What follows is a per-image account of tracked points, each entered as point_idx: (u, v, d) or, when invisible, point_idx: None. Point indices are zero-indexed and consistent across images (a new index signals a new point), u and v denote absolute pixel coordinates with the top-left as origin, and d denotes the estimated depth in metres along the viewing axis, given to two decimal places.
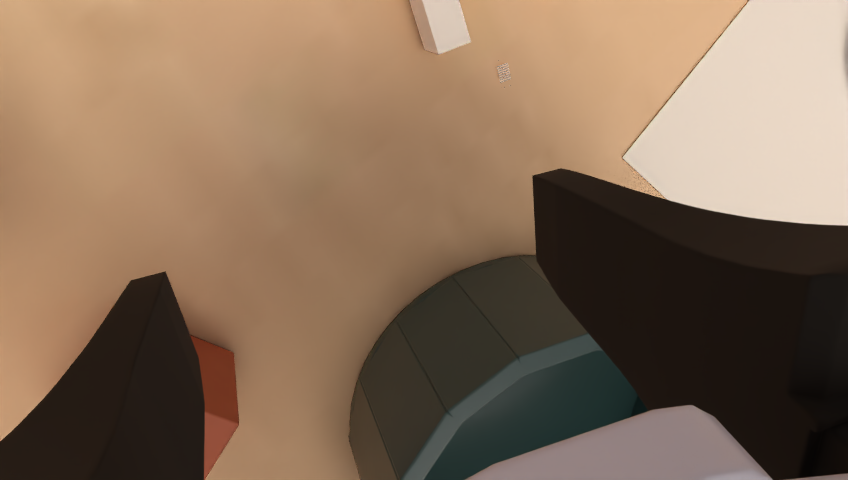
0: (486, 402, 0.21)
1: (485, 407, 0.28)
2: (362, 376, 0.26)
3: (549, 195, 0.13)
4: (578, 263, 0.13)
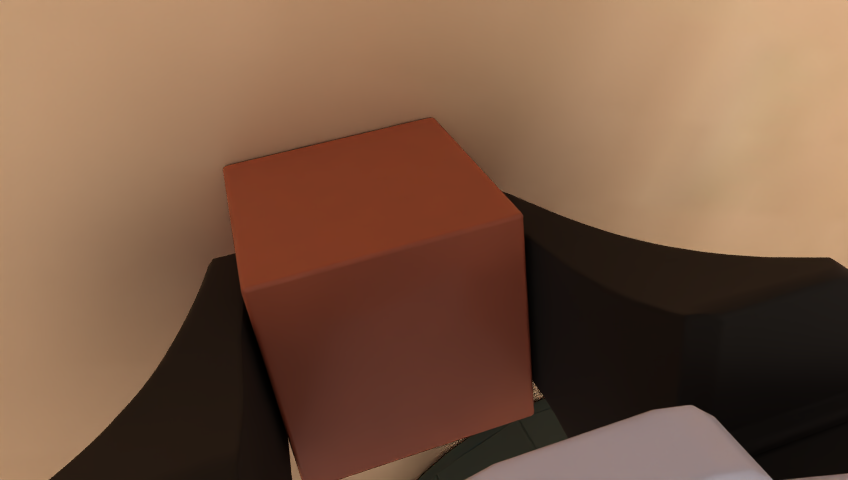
0: None
1: None
2: (527, 421, 0.18)
3: None
4: None
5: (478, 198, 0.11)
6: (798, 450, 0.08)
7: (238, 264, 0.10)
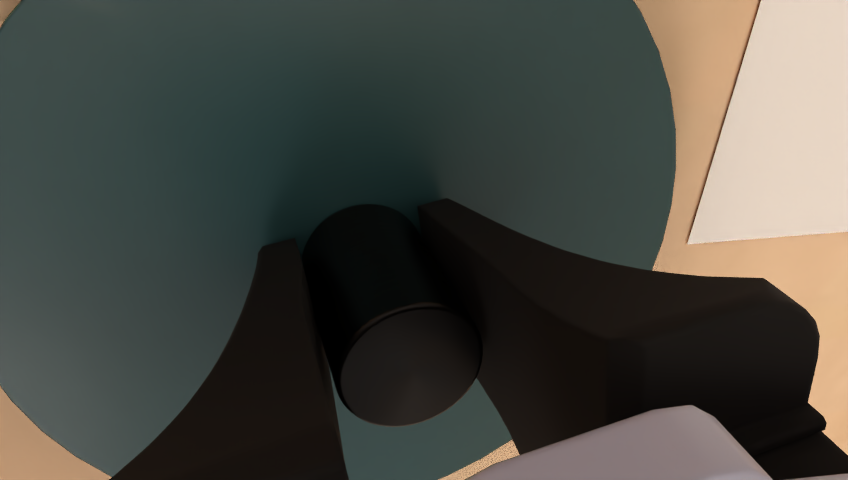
0: None
1: None
2: None
3: (429, 227, 0.13)
4: None
5: None
6: None
7: None
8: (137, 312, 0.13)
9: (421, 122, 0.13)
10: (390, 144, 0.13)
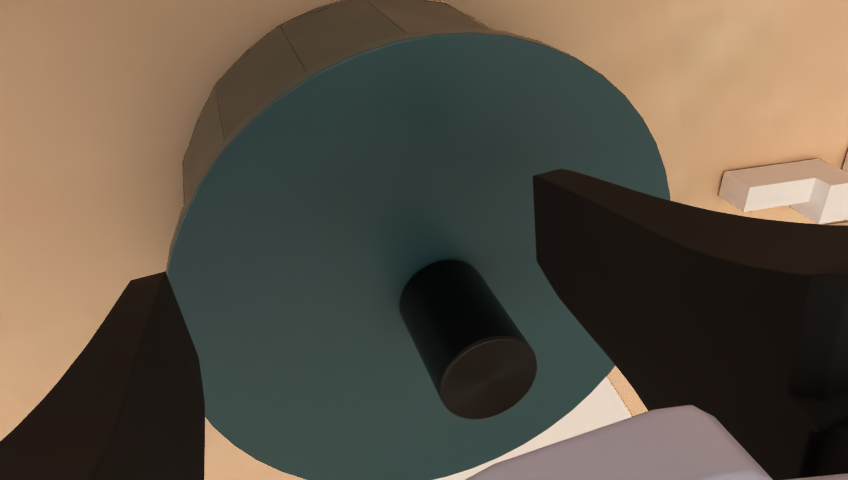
0: None
1: None
2: None
3: (549, 195, 0.13)
4: (578, 263, 0.13)
5: None
6: None
7: None
8: (282, 323, 0.18)
9: (498, 206, 0.18)
10: (475, 220, 0.18)
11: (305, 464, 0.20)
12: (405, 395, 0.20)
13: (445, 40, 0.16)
